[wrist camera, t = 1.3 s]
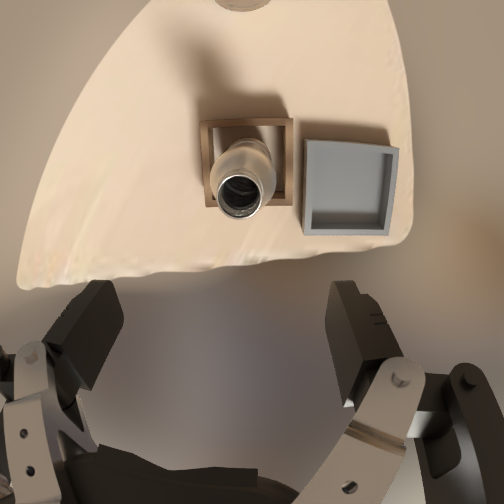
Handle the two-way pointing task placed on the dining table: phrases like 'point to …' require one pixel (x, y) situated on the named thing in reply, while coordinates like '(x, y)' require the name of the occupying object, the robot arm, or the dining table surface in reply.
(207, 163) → the walnut collar
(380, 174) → the grey tray
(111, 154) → the dining table surface
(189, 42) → the dining table surface
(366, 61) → the dining table surface
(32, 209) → the dining table surface
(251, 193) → the plastic bottle
